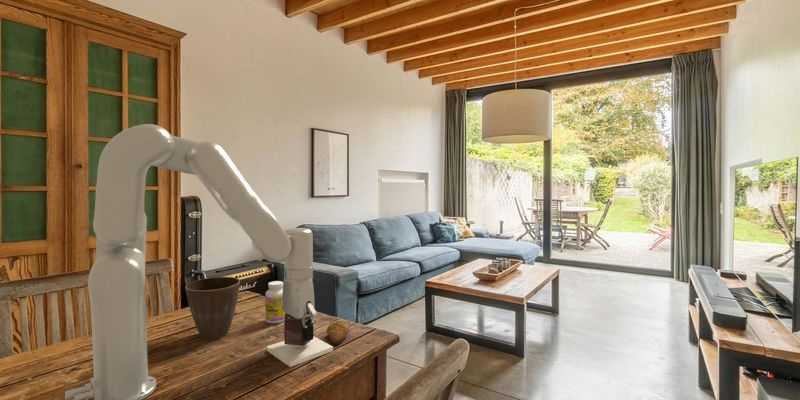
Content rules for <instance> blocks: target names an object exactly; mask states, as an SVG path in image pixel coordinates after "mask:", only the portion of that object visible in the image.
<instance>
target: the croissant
mask: <svg viewBox="0 0 800 400" xmlns="http://www.w3.org/2000/svg"><path fill="white" fill-rule="evenodd" d="M349 331H350V329H349V327H348V324H347V323H346V322H345V321H340V320H336V321H333V322H330V323H329V325H328V326H327V329H326V333H327V335H328V337H329V340H330V342H331V343H332V344H333V345H336V346H337V345H340V344H341V343H342V342H343V341H344V339H345V337H346V336H347V334H348V332H349Z"/></svg>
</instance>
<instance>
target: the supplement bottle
mask: <svg viewBox="0 0 800 400" xmlns="http://www.w3.org/2000/svg"><path fill="white" fill-rule="evenodd" d="M283 283H284V281H281V280H274V281H273V280H272V281H270V282H268V290H266V292H265V294H264V295H265V298H264V299H265V322H266V323H268V324H279V323H283V322H284V318H285V316H284V315H285V312H284V311H283V310H282V293H283Z"/></svg>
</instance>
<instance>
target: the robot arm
mask: <svg viewBox="0 0 800 400" xmlns="http://www.w3.org/2000/svg"><path fill="white" fill-rule="evenodd" d="M151 166H152V167H153V166H154V167H157V168H162V169H167V170H170V171H175V172H179V173H184V174H189V175H194V176H196V177H197V178H198V179H199V181H200V182H201V183H202V185H203V186H204V187H205V188H206V190H207V191H208V192H209V194H210V195H211V196H212V198H213V199H214V200H215V201H216V203H217V204H218V206H219V207H220V208H221V209H222V211H224V213H225V214H226V215H227V216H228V217H229V218H231V219H232V220H233V221H234V222H235V223H236V224H237V225H239V226H240V227H241V229H242V230H243V231H244V233H245V234H247V236H248V237H249V238H250V240H251V245H252V248H253V250H254V252H255V253H256V254H257V255H259V256H261V257H262V258H263V259H265V260H267V261H268V262H271V263H278V262H282V261H284V265H283V266H284V278H283V287H282V289H283V293H282V310H283V311H284V312H285V315H284V316H285V317H287V316H288V315H290V316H292V317H294V318H296V319H301V321H302V324H303V327H302V342H307V341H310V340H313V333H314V326H315V323H316V321H317V317H318V312H317V311H316V309H315V291H314V281H313V278H314V273H313V272H314V268H313V267H314V263H313V262H314V258H313V256H314V254H313V253H314V250H313V249H314V248H313V247H314V246H313V245H314V243H313V242H314V239H313V237H314V235H313V231H312V230H311V229H310V228H307V227H294V228H287V229H284V228H283V226H282V225H281V224H280V222H279V221H278V220H277V218H276V216H275V215H274V214H273V213H272V212H271V211H270V209H269V208H268V207H267V206H266V205H265V204H264V202H263V201H262V200H261V198H260V197H259V196H258V194H257V192H255V191H254V189H253V188H252V186H250V184H249V183H248V181H247V180H246V179H245V177H244V175H242V173H241V171H240V169H239V168H238V167H237V165H236V164H235V162H233V160H232V158H231V157H230V156H229V154H228V153H227V151H225V149H224V148H223V147H222V146H221V145H220V144H218V143H216V142H214V141H209V140H207V141H205V140H204V141H200V142H199V141H194V140H191V139H186V138H183V137H179V136H175V135H173V134H171V133H170V132H169V131H168V130H167V129H165V128H164V127H163V126H160V125H157V124H152V123H143V124H138V125H134V126H132V127H129V128H126V129H124V130H122V131H120V132H119V133H117V134H115V136H113V137H112V138H111V139H110V140H109V141H108V142H107V144H105V147H103V150H102V151H101V154H100V156H99V161H98V164H97V173H96V174H97V175H96V188H95V200H94V201H95V202H94V203H95V205H94V217H93V221H92V227H93V232H94V233H95V236H96V242H95V244H96V247H95V248H96V249H95V250H96V252H95V262H94V263H93V265H92V267H91V268H90V270H89V275H88V278H87V279H88V280H87V287H88V289H87V290H88V298H89V307H90V317H91V318H90V319H91V320H90V321H91V322H90V323H91V324H90V325H91V335H92V336H91V337H92V340H91V341H92V358H93V359H92V361H93V362H92V363H93V365H92V366H93V377H90V382H88V383H84V386H80V387H75V388H73V389H69V390H68V389H67V390H65V395H64V396H65V400H144V399H146V398H147V397H148V396H150V395H151V394H152V393H153V392H154V391H155V390H156V388H157V380H156V378H155V377H153V376H151V375H149V367H148V366H149V365H148V337H147V336H148V335H147V334H148V333H147V331H148V330H147V313H146V312H147V307H146V247H147V226H148V225H147V223H148V218H147V214H146V212H145V195H146V194H145V193H146V183H147V182H146V179H147V173H148V171H149V168H150V167H151ZM305 313H306V314H307V315H304V314H305ZM305 318H309V319H308V320H307V322H306V320H305Z"/></svg>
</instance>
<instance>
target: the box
mask: <svg viewBox="0 0 800 400" xmlns="http://www.w3.org/2000/svg"><path fill="white" fill-rule="evenodd" d="M304 315H307V314H306V313H305V314H304ZM308 319H309V318H305V320H306V322H307V320H308ZM283 322H284V323H283V327H284V328H283V330H284V331H283V334H284V335H283V336H284V338H283V339H284V340H283V341H284V344H288V345H298V346H305V345H306V344H307V343H308V342H310V341H311V340H310V341H307V342H302V327H303V324H302V321H301V319H296V318H294V317H292V316H290V315H288V316H287V317H285V318H284V321H283ZM314 334H315V333H314V332H313V337H315V335H314Z"/></svg>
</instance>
